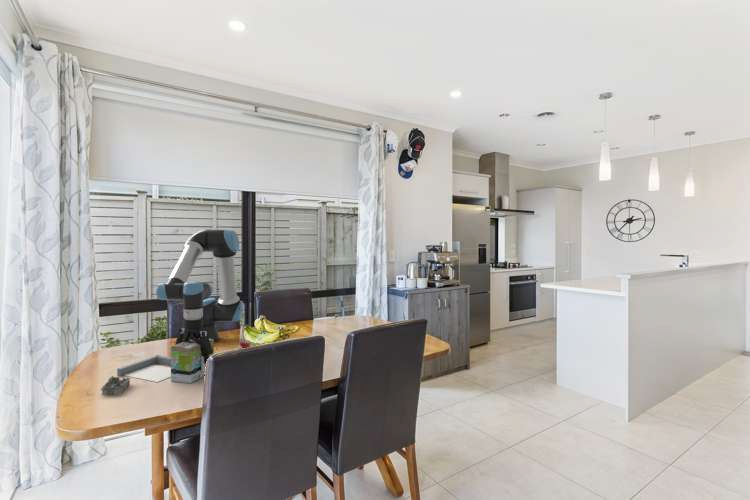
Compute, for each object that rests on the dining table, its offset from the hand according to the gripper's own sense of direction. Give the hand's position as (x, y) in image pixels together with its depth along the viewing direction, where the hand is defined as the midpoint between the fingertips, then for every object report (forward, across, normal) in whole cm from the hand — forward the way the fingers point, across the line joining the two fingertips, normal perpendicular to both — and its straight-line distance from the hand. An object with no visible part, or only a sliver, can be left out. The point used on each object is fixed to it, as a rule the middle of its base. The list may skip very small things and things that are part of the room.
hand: (193, 368), depth 162 cm
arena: (+3, -18, -2) cm, 19 cm away
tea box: (+4, 0, 0) cm, 4 cm away
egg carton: (+4, -16, -22) cm, 27 cm away
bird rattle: (+4, +10, +20) cm, 23 cm away
